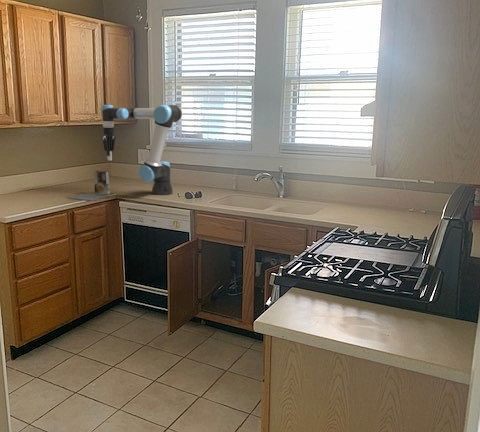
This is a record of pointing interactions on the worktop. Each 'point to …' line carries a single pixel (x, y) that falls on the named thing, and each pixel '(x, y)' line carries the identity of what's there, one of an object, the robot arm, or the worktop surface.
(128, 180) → the worktop surface
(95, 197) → the mat
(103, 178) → the coffee box
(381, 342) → the worktop surface
